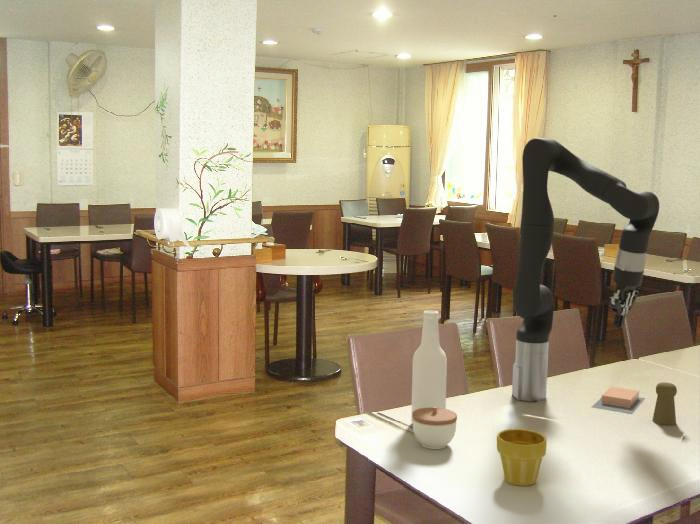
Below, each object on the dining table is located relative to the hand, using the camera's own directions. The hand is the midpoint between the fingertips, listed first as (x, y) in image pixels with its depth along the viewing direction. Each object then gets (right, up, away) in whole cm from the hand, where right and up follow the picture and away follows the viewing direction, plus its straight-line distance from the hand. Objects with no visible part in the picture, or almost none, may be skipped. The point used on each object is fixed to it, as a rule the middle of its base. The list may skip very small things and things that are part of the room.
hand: (618, 326), depth 212 cm
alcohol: (-53, -25, -9) cm, 59 cm away
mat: (+4, -23, +11) cm, 26 cm away
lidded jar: (-53, -27, -24) cm, 64 cm away
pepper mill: (+10, -26, -6) cm, 28 cm away
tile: (+2, -22, +8) cm, 23 cm away
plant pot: (-37, -30, -45) cm, 65 cm away
